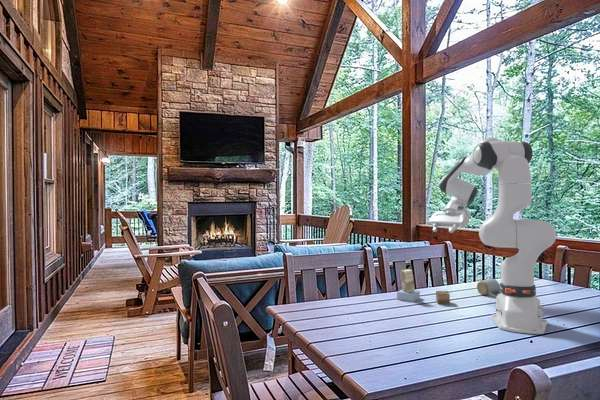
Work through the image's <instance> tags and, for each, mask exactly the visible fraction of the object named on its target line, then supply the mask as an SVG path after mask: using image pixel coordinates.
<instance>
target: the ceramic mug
mask: <svg viewBox="0 0 600 400" xmlns="http://www.w3.org/2000/svg"><path fill="white" fill-rule="evenodd" d="M476 289H477V292H478V293H479V294H480V295H482V296H489V297H490V296H491V297H492V298H495V299H496V297H497V296H498V295H499V294H500V293H501V292H500V282H499V281H497V279H495V278H488V279H483V280H480V281H478V282H477V283H476Z"/></svg>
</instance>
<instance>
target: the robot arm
mask: <svg viewBox="0 0 600 400" xmlns="http://www.w3.org/2000/svg"><path fill="white" fill-rule="evenodd" d="M533 154H534V152H533V148H532V146H531V144H530V143H528V142H527V141H522V140H517V141H512V140H501V139H499V138H496V137H493V136H492V137H485V138H484V139H482V140H481V142H479V143H477V145H476V146H475V147H474V149H473V152H472V154H471V155H468V156H463V157H461V158H460V159H459V160H458V161H457V162H456V163H455V164H454V165H453V166H452V167H451V169H450V170H448V172H447V173H446V174H445V175H444V176H442V178H441V179H440V181H439V183H438V187H439V190H440V192H442V193H444V194H447V195H450V196H451V198H450V200H449V201H448V203H447V204H446V206H445V207H444V208H443V210H442V211H435V212H434V213H433V214H432V215H431V217H430V218H429V220H428V222H429V224H430V226H431V227H433V228H432V232H433V233H435V232H437V231H438V229H437V228H438V227H444V228H445V227H447V228H448V232H449V234H450V233H451V234H453V233H454V231H456V230H457V229H458V228H465V227H467V226H468V223H469V221H470V218H471V217H472V215H471V213H470V211H469V210H468V208H467V206H469V205H471V204H473V203H474V201H475V198H476V197H477V195H478V194H479V191H478V188H477V186H476V185H474V184H473V183H471V182H469V181H466V180H464V179H462V178H459V174H462V173H463V174H470V175H473V176H485V175H489V174H490V173H491V172H492V171H493V170H494V169H496V171H497V172H498V177H497V178H498V183H497V185H498V187H497V189H498V195H497V196H498V197H497V199H498V200H497V205H496V208H495V210H494V212H493V213H492V215H491V216H490V217H489V218H488V219H486V220H485V221H484V222H483V223H482V224H481V225H480V227H479V230H478V236H479V239H480V241H481V242H482V243H483V245H485V246H489V247H494V248H502V249H503V248H505V249H506V248H509V249H510V248H511V249H518V252H517V253H516V254H515V255H512V256H509V257H507V258H505V259H504V260H503V261H502V262H501V264H500V282H499V285H500V292H501V293H500V294H499V293H498V294H497V295H498V296H497V297H496V298H495V307H496V308H495V312H496V313H493V314H491V315H490V318H491V319H492V321H493V322H494V323H495V325H496V326H497V328H498V329H500V330H504V331H507V332H514V333H519V334H521V333H522V334H530V335H533V334H534V335H544V334H545V332H546V330H547V326H548V320H547V319H544V317H545V312H544V310H542V309H543V305H541V300H540V298H538V296H536V295H537V287H536V284H535V267H536V263H537V260H538V258H539V257H540V255H541V254H542V253H544V251H546V250H547V249H549V248H550V247H551V246H553V245H554V243H555V242H556V239H557V232H556V228H555V227H554V225H553V224H552V223H551V222H550V221H545V220H540V219H516V218H514V215H515V214H516V213H519V212H520V211H523V210H525V209H526V208H528V207H529V206H530V205H531V204H532V202H533V201H532V200H533V198H532V194H533V193H532V176H531V171H530V170H531V169H530V165H529V163H531V160H532V159H533V156H534V155H533Z"/></svg>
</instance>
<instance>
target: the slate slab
mask: <svg viewBox="0 0 600 400" xmlns="http://www.w3.org/2000/svg"><path fill="white" fill-rule="evenodd" d="M420 291H421V290H416V289H415V291H412V292H404V291H403V289H400V290H398V291H396V300H398V301H405V302H412V303H414V302H416V301H417V300H419V299H420V298H421V297H420V296H421V295H420V293H421V292H420Z"/></svg>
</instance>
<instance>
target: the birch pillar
mask: <svg viewBox="0 0 600 400" xmlns="http://www.w3.org/2000/svg"><path fill="white" fill-rule="evenodd" d="M413 273H414V272H413V269H410V268H409V269H408V268H404V269H400V270H399V274H400V280H401V288H402V289H403V291H404V292H412V291H415V290H416V289H415V283H414V282H415V281H414V274H413ZM402 289H401V290H402Z"/></svg>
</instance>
